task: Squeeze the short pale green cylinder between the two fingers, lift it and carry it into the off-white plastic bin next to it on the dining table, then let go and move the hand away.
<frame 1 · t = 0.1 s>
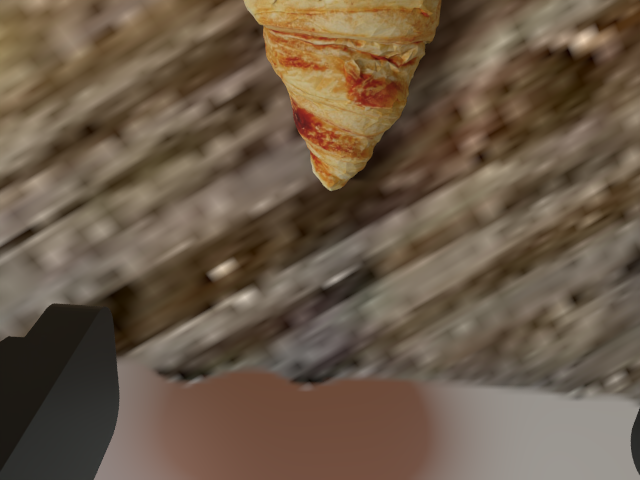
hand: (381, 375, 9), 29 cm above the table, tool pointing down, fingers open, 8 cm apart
croissant: (341, 0, 34), on the table
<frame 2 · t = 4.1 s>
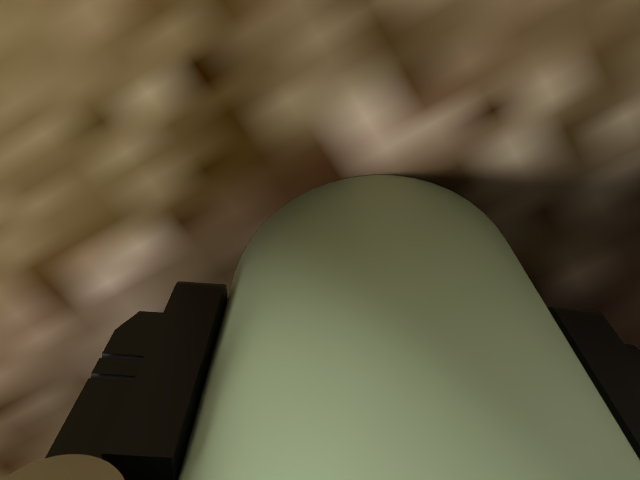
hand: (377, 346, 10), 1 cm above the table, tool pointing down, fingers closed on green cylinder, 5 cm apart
green cylinder: (374, 311, 11), on the table, touching gripper
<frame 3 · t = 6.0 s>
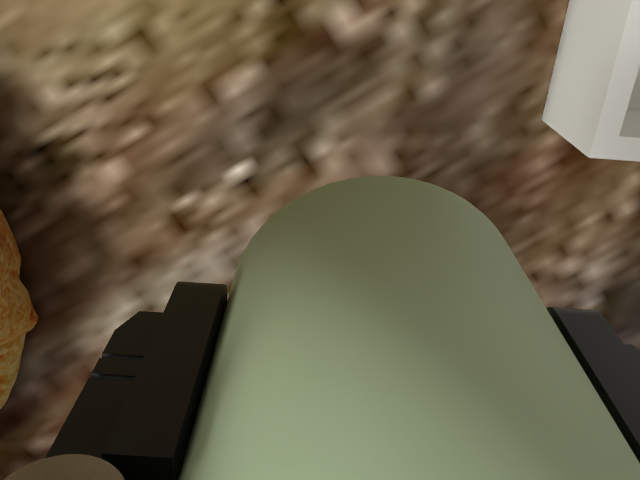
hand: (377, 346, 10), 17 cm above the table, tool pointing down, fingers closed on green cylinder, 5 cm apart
green cylinder: (374, 311, 11), point 16 cm above the table, touching gripper
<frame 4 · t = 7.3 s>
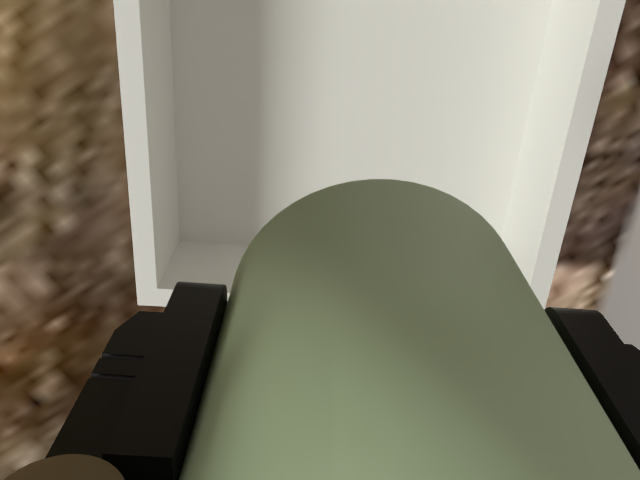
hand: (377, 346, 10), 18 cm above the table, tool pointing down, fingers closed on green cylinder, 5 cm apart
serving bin: (352, 86, 25), on the table
green cylinder: (374, 314, 11), point 17 cm above the table, touching gripper
when the fingers open (3 cm above the table, at t = 10.9 s): green cylinder drops 2 cm, resting on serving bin.
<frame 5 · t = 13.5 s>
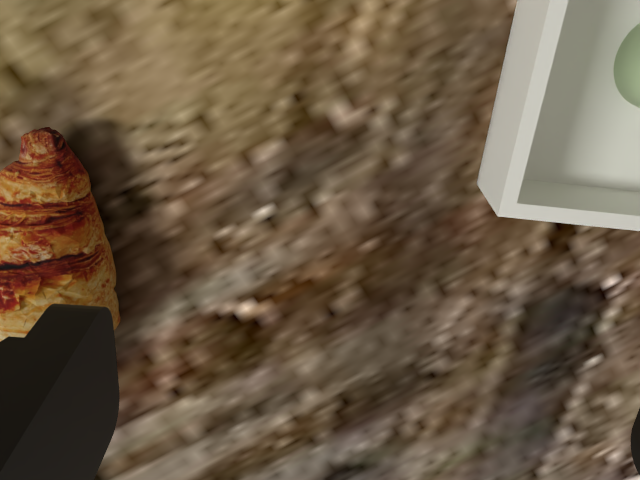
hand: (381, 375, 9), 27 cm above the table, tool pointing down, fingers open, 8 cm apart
croissant: (50, 273, 40), on the table
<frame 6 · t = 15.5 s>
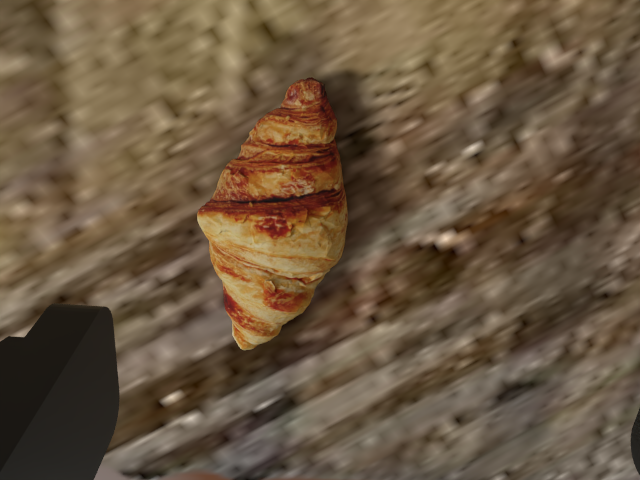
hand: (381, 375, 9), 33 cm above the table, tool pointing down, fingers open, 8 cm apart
croissant: (275, 214, 44), on the table
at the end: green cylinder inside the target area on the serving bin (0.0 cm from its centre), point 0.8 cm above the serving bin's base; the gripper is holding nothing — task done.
